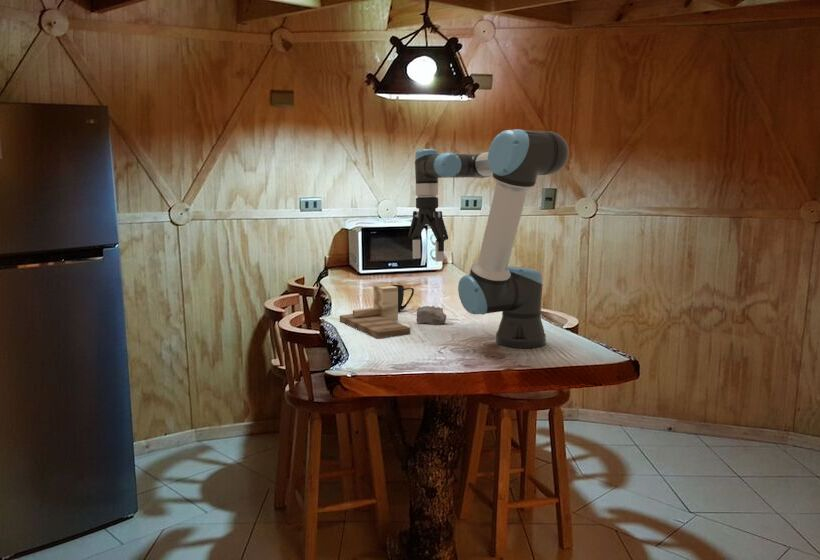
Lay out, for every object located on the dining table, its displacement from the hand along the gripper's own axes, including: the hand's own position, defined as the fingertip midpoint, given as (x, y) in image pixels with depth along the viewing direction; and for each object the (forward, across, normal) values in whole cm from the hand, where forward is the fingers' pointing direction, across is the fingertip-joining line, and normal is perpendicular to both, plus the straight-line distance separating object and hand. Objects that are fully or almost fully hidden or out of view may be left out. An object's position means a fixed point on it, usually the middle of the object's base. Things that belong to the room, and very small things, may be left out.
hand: (427, 260), depth 211 cm
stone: (+23, +3, -3) cm, 23 cm away
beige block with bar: (+22, +15, +13) cm, 30 cm away
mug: (+22, +25, -3) cm, 33 cm away
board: (+22, +7, +18) cm, 29 cm away
